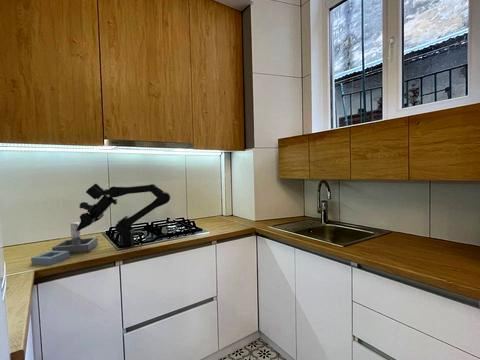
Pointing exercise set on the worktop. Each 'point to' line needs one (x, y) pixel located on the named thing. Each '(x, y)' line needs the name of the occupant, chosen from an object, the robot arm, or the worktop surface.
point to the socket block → (50, 258)
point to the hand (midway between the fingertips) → (80, 228)
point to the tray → (77, 246)
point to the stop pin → (75, 233)
